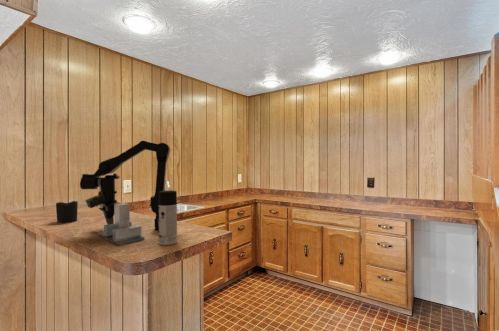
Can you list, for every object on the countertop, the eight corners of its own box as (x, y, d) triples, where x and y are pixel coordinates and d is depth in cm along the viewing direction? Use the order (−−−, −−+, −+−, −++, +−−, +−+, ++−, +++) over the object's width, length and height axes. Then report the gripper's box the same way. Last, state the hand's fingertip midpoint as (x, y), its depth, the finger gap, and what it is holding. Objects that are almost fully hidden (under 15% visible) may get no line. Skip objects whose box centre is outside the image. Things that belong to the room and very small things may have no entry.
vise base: (97, 234, 114) (97, 223, 114) (122, 230, 121) (121, 219, 121) (118, 245, 99) (118, 232, 99) (144, 239, 106) (144, 227, 106)
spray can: (161, 240, 105) (160, 190, 105) (178, 240, 106) (178, 190, 105) (156, 246, 98) (156, 192, 98) (175, 245, 99) (174, 192, 99)
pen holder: (68, 223, 134) (67, 204, 134) (51, 223, 136) (51, 203, 135) (82, 219, 144) (81, 201, 144) (66, 219, 145) (66, 200, 145)
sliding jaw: (97, 231, 114) (97, 219, 114) (121, 227, 122) (121, 215, 122) (106, 236, 107) (106, 223, 107) (131, 231, 114) (131, 219, 114)
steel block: (124, 233, 112) (124, 202, 112) (129, 235, 109) (129, 204, 109) (114, 235, 109) (114, 203, 109) (119, 237, 106) (119, 205, 106)
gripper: (81, 188, 119) (81, 223, 120) (94, 192, 107) (95, 231, 107) (107, 186, 128) (108, 219, 128) (123, 190, 115) (123, 226, 115)
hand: (108, 223), depth 119 cm, fingers closed
